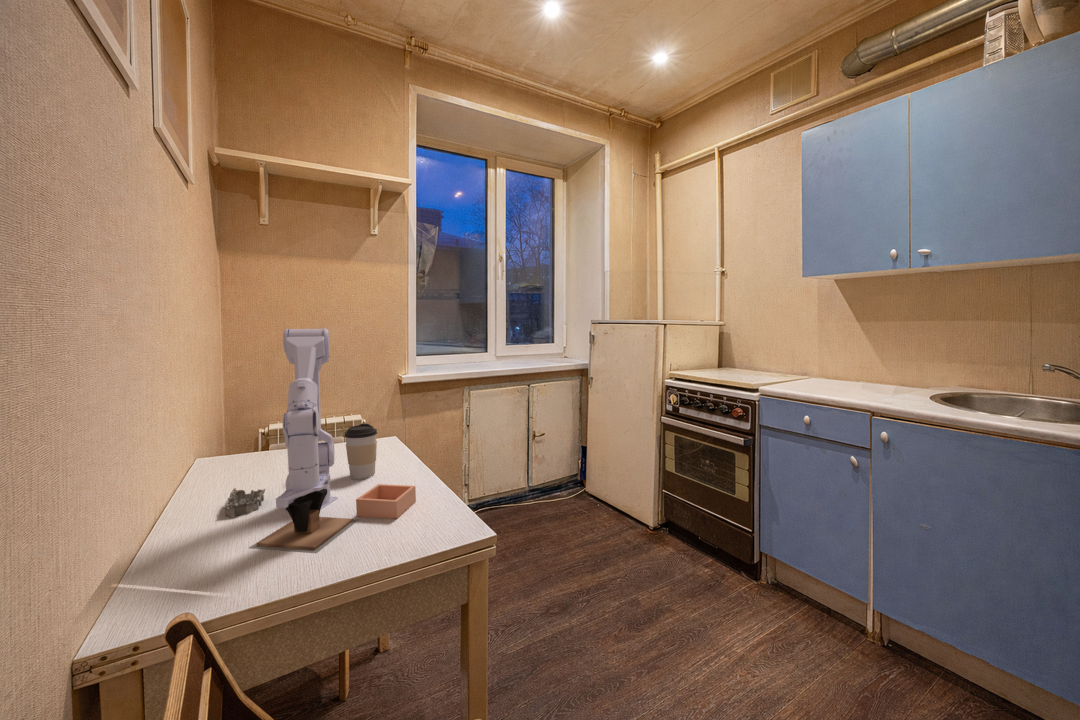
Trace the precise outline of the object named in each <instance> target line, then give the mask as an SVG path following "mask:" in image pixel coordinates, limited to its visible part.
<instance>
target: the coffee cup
mask: <svg viewBox="0 0 1080 720" xmlns="http://www.w3.org/2000/svg"><path fill="white" fill-rule="evenodd" d="M377 431H378V429H377V428H374V426H373V425H371V424H369V423H361V424H358V425H352V426H350V427H348V429H347V430H346V431H345V432H344V437H345V448H346V449H345V450H346V456H347V458H346V459H347V463H348V468H349V469H348V470H349V476H350V479H352V478H354V479H353V480H363V479H362V478H365V479H368V478H367V477H370V478H372V477H374V476H375V475H376V461H377V445H378V441H377V434H378V432H377ZM374 474H375V475H374ZM373 475H374V476H373ZM371 476H372V477H371Z"/></svg>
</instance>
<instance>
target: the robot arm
mask: <svg viewBox="0 0 1080 720" xmlns="http://www.w3.org/2000/svg"><path fill="white" fill-rule="evenodd" d="M330 344H331V343H330V331H329V330H328V329H327V328H326V327H324V328H285V329H284V330H283V333H282V345H283V351H284V353H285V357H286V359H287V360H288V363H289V364H292V365H294V380H293V381H292V382H291V383H290V384H289V385H288V394H287V405H286V406H287V407H286V412H284V413H283V416H282V432H283V435H284V443H285V447H287V449H286V450H287V465H288V468H287V469H288V474H287V477H286V479H285V491H283V493H281V495H279V496H278V497H276V498H275V507H276V508H277V509H285V510H286V511H287V513H288V514H289V516H290V518H291V521H293V523H294V526H295V528H296V531H297V532H306V531H307V529H308V515H309V509H313V510H319V515H320V513H321V510H323V509H324V508H326V507H327V506H329V505H330V504H332V503H333V502H335V501H337V500H338V499H339V497H338V496H331V474H330V467H333V465H335V460H336V458H335V444H334V437H333V435H332V434H331V433H329V432H327V431H326V430H324V429H322V420H321V419H322V418H321V415H322V414H321V411H322V410H321V381H320V380H321V379H320V378H321V377H320V373H321V368H322V367H323V366H322V365H324V364H327V363H328V362H329V360H330V358H331V357H330V356H331V355H330V353H331V352H330V350H331V347H330ZM321 441H323V443H318V442H321Z"/></svg>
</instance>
